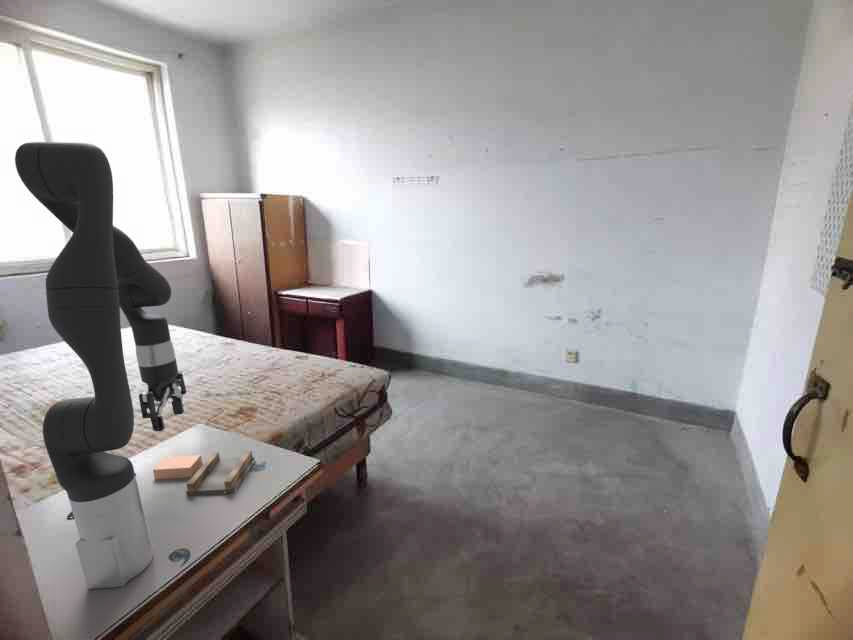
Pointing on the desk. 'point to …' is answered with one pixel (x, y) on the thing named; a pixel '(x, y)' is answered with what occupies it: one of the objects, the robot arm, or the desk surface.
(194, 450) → the desk surface
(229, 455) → the desk surface
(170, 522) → the desk surface
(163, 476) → the salmon pink block
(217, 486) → the holder
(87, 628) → the desk surface
